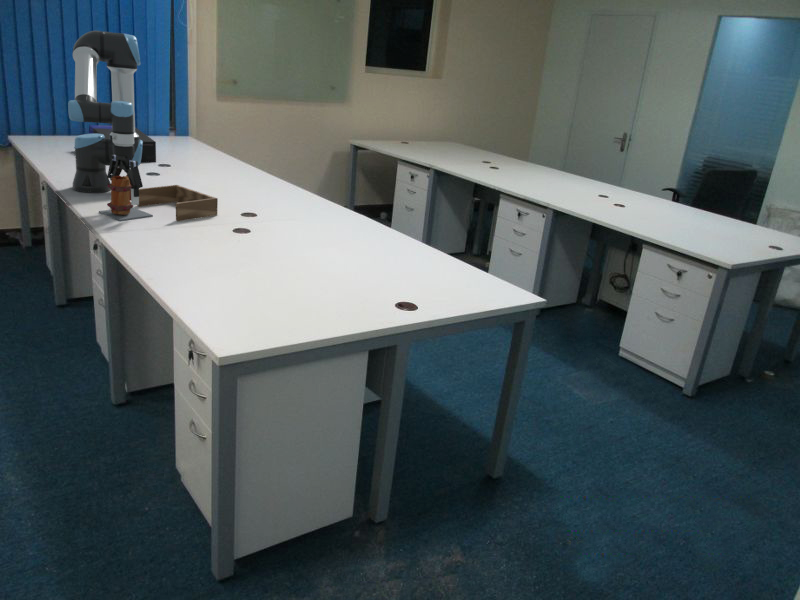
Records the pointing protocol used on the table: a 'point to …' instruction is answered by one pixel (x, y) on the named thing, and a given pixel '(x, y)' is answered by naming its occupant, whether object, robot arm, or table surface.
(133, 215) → the rubber mat
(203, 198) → the wooden boards
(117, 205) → the mug
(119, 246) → the table surface
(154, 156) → the headphone box
